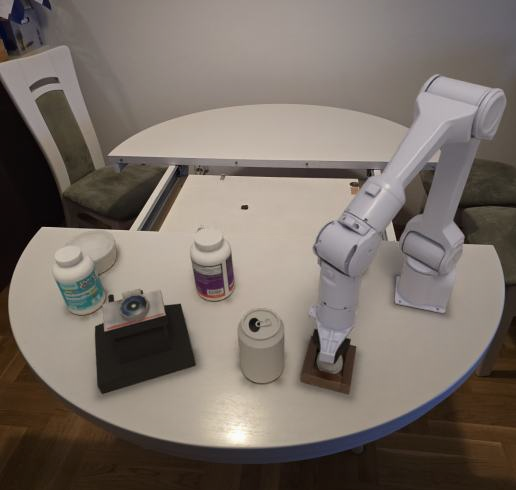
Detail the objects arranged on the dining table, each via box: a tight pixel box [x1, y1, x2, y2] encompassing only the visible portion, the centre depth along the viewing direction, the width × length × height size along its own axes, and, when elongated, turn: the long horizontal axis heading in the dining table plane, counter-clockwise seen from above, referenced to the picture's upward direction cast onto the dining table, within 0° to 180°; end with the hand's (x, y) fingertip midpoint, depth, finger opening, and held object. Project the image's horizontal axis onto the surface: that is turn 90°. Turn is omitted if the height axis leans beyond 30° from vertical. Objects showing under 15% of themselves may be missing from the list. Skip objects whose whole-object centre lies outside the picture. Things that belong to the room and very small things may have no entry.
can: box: [237, 307, 285, 384], centre depth 66 cm, size 8×8×12 cm
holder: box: [300, 335, 357, 395], centre depth 69 cm, size 8×8×2 cm
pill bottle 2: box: [189, 226, 236, 302], centre depth 81 cm, size 8×8×14 cm
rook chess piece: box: [315, 352, 344, 375], centre depth 66 cm, size 4×4×8 cm
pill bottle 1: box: [51, 246, 106, 316], centre depth 79 cm, size 8×7×14 cm
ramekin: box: [64, 229, 117, 275], centre depth 91 cm, size 11×11×5 cm
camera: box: [94, 288, 197, 395], centre depth 70 cm, size 16×14×15 cm
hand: (330, 351), depth 67 cm, fingers closed on rook chess piece, 3 cm apart
